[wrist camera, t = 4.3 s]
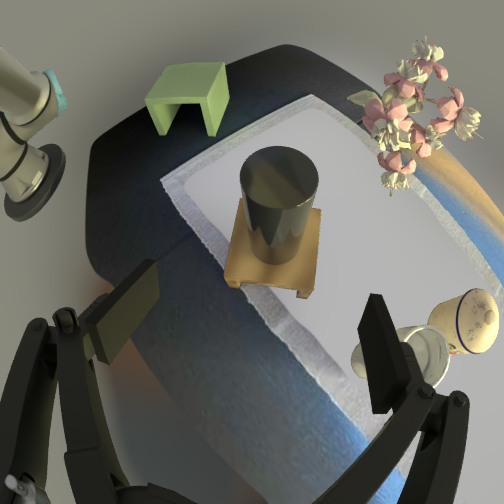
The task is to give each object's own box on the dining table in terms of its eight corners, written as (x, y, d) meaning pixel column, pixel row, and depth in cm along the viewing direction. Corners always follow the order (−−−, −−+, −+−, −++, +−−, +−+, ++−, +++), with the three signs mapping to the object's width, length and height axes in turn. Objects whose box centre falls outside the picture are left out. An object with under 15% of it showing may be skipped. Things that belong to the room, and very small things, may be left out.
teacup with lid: (419, 352, 34) (466, 348, 23) (429, 295, 37) (472, 275, 26) (471, 361, 32) (517, 356, 22) (478, 309, 35) (522, 294, 24)
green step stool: (159, 135, 51) (143, 99, 41) (178, 98, 55) (167, 64, 45) (215, 136, 49) (206, 97, 40) (229, 98, 53) (224, 61, 44)
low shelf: (229, 287, 39) (223, 276, 34) (243, 217, 43) (240, 197, 37) (306, 299, 38) (313, 289, 33) (314, 228, 42) (321, 209, 36)
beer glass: (400, 353, 34) (461, 348, 20) (371, 391, 33) (425, 407, 19) (368, 325, 36) (420, 308, 22) (337, 363, 35) (379, 369, 21)
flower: (296, 126, 47) (364, 55, 23) (366, 82, 49) (435, 27, 25) (360, 211, 50) (460, 200, 26) (418, 154, 52) (502, 129, 28)
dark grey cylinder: (245, 261, 34) (232, 203, 21) (254, 214, 36) (247, 142, 23) (297, 268, 34) (316, 215, 20) (302, 221, 36) (320, 151, 23)
